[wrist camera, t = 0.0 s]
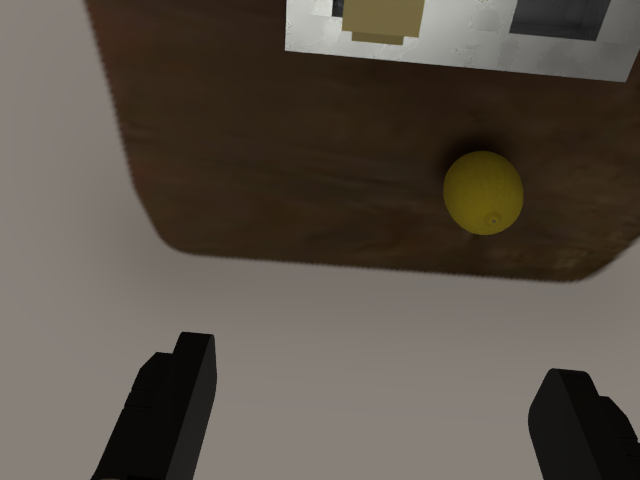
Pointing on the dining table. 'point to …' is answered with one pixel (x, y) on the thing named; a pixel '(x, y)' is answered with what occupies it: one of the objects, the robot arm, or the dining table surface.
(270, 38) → the dining table surface
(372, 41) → the plug
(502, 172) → the lemon
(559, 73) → the panel
